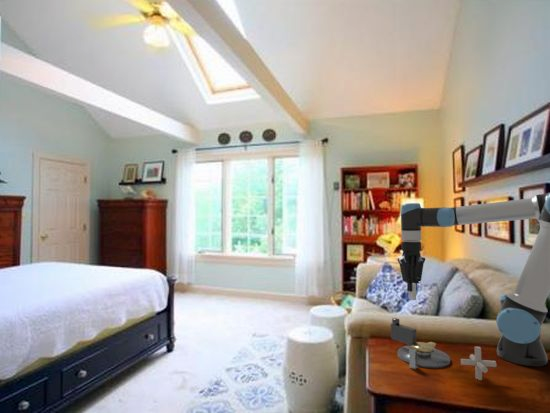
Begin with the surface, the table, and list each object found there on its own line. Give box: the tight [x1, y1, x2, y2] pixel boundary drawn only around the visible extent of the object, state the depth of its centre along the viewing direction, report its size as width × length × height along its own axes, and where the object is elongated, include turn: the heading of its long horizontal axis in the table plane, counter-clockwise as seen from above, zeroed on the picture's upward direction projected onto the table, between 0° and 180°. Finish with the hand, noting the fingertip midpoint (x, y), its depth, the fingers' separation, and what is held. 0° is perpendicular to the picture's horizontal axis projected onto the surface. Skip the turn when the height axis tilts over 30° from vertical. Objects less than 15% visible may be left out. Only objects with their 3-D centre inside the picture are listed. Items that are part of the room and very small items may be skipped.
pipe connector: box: [460, 345, 498, 381], centre depth 108 cm, size 10×10×10 cm
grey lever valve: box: [390, 317, 436, 353], centre depth 130 cm, size 18×13×8 cm
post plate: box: [397, 345, 451, 370], centre depth 125 cm, size 18×21×6 cm
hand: (412, 299), depth 136 cm, fingers closed
